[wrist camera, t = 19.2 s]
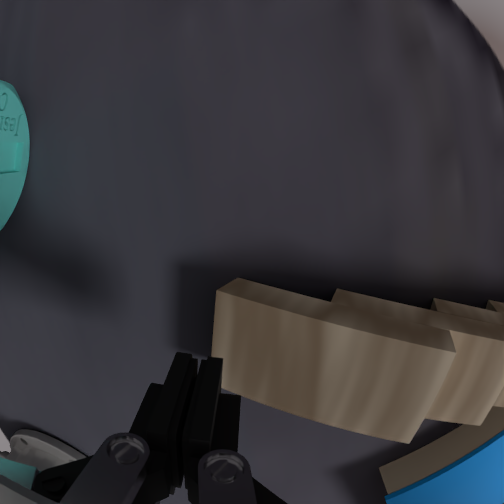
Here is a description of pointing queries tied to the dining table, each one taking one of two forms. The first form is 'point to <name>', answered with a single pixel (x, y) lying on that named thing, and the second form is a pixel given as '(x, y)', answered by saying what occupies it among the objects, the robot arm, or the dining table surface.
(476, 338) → the domino
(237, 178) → the dining table surface
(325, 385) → the domino
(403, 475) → the book
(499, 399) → the domino
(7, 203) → the decorative dice
